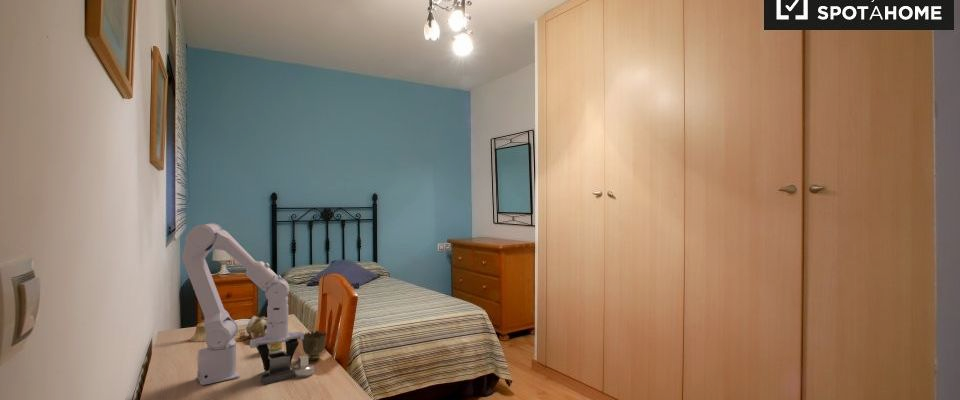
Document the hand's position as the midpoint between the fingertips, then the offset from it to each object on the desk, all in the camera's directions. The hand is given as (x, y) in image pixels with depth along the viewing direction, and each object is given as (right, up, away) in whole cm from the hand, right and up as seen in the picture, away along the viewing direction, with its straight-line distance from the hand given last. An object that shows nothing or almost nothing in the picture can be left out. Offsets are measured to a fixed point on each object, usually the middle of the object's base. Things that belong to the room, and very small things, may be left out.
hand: (277, 367), depth 135 cm
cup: (+7, -2, +12) cm, 14 cm away
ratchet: (+5, -1, -4) cm, 6 cm away
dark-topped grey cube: (0, -1, 0) cm, 1 cm away
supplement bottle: (-10, -2, +19) cm, 22 cm away
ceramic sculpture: (-20, -2, +33) cm, 39 cm away
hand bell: (-41, -2, +32) cm, 52 cm away
